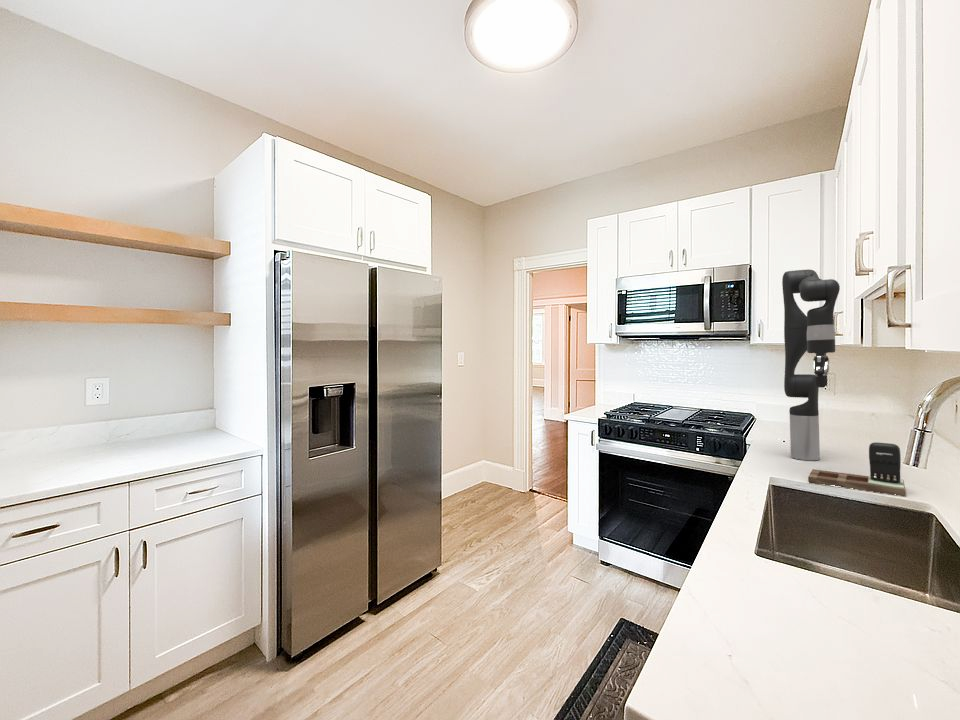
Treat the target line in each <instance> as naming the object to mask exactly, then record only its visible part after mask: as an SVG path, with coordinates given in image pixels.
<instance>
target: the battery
mask: <svg viewBox="0 0 960 720" xmlns="http://www.w3.org/2000/svg"><path fill="white" fill-rule="evenodd" d="M901 453H902V452H901V448H900V446H899V445H898V444H895V443H893V442H881V441H874V442H871V443H870V444H869V446H868V461H869V463H868V464H869V475H870V478H871V479H873V480H877V481H884V482H893V483H899V482H901V479H902V478H901V468H902V467H901V466H902V463H901V461H902V459H901V458H902V457H901V456H902V455H901Z"/></svg>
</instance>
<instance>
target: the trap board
mask: <svg viewBox="0 0 960 720" xmlns="http://www.w3.org/2000/svg"><path fill="white" fill-rule="evenodd" d="M807 480H808V481H807V482H809V483H808V484H812V483H815V484H814V485H819V484H825V485H824V486H826V485H835V486H841V487H847V488H846V489H848V488H853V489H852V490H855V489H858V490H857V491H862V490H865V491H864V492H869V491H873V492H872V493H876V492H880V493H879V494H883V493H889V494H888V495H890V494H896V495H895V496H897V495H901V496H900V497H904V496H905V497H906V486H905V481H904V479H902V478H901V482H899V483H893V482H884V481H877V480H873V479H871V478H870V474H869V475H862V474H854V473H848V472H847V473H846V472H838V471H831V470H830V471H829V470H821V469H814V468H813V469H812V470H811V471H810V473H809V475H808V476H807Z"/></svg>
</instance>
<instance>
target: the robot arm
mask: <svg viewBox="0 0 960 720" xmlns="http://www.w3.org/2000/svg"><path fill="white" fill-rule="evenodd" d="M781 285H782V295H783V298H782V299H783V306H784V308H783V309H784V311H783V312H784V313H783V314H784V315H783V316H784V317H783V318H784V320H783V323H784V324H783V325H784V326H783V327H784V328H783V329H784V330H783V332H784V333H783V335H784V336H783V339H784V355H785V356H784V363H785V364H784V377H783V378H784V382H783V383H784V384H783V388H784V393H785V395H786V396H787V398H800V399H803V398H804V399H805V398H807V401H805V402H803V403H802V404H797V405H793V406H790V408H789V412H788V413H789V437H790V438H789V439H790V440H789V441H790V443H789V444H790V458H792V459H795V460H800V461H801V460H802V461H811V462H813V461H820V460H821V453H820V452H821V451H820V449H821V448H820V446H821V445H820V418H819V415H820V414H819V391H820V388H825V387H827V386H828V374H829V370H830V366H829V364H830V358H829V357H828V355H827V353H828V354H831V353H832V354H833V353H836V331H835V324H834V323H835V322H834V321H835V319H834V313H835V312H834V311H835V307H836V304H837V303H836V302H837V299H838V296H839V294H840V290H841V289H840V288H841V287H840V283H839V282H838V281H837V280H836V279H833V278H831V279H830V278H829V279H822V278H820V277H819V275H818V273H817V271H815V270H813V269H797V270H796V269H795V270H788V271H784V273H783V275H782V282H781ZM794 294H799V297H800V298H801V299H800V300H802V301H804V302H806V303H807V302H811V303H812V302H825V303H824V304H823V305H821V306H819V307H815V308H811V309H809V310H807V312H806V314H805V313H804V311H802V309H801V308H800V307H799V305H798V304H797V301H796V299H795V296H794ZM806 352H807V353H808V354H815V355H814V356H813V371H814V372H813V373H814V374H808V373H807V374H803V373H802V374H795V371H796V368H797V365H798V364H799V362H800V360H801V359H802V357H804V355H805V354H806Z"/></svg>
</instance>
